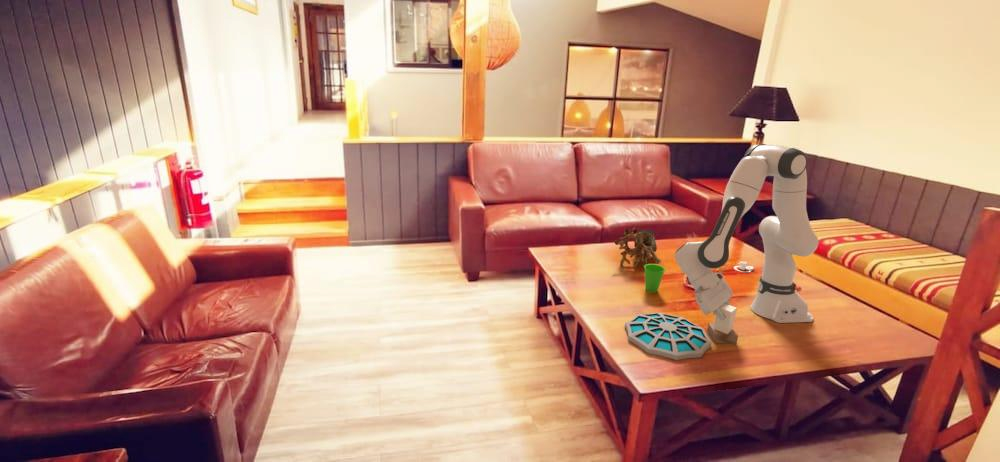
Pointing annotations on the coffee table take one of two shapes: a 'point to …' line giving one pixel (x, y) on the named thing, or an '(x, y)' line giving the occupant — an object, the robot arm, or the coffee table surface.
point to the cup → (653, 276)
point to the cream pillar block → (728, 322)
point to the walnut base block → (722, 335)
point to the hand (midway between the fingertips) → (727, 316)
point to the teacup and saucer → (744, 267)
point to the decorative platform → (667, 336)
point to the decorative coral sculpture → (638, 246)
